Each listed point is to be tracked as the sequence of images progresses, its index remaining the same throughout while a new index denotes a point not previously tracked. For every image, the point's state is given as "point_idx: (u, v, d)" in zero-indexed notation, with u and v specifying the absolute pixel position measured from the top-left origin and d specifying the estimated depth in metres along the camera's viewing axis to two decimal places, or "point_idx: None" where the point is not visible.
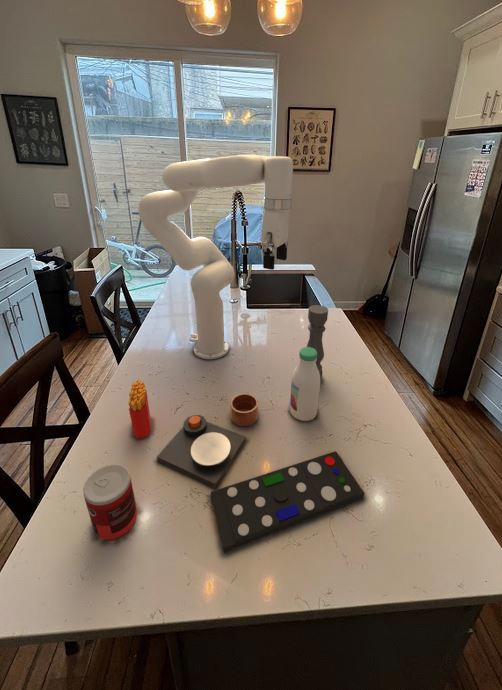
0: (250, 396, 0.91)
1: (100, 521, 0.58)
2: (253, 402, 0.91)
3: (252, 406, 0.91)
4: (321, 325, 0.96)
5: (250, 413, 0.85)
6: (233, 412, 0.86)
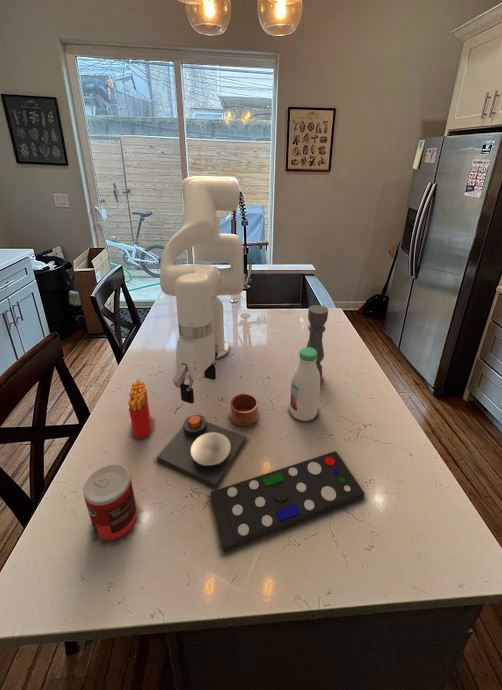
0: (250, 396, 0.91)
1: (100, 521, 0.58)
2: (253, 402, 0.91)
3: (252, 406, 0.91)
4: (321, 325, 0.96)
5: (250, 413, 0.85)
6: (233, 412, 0.86)
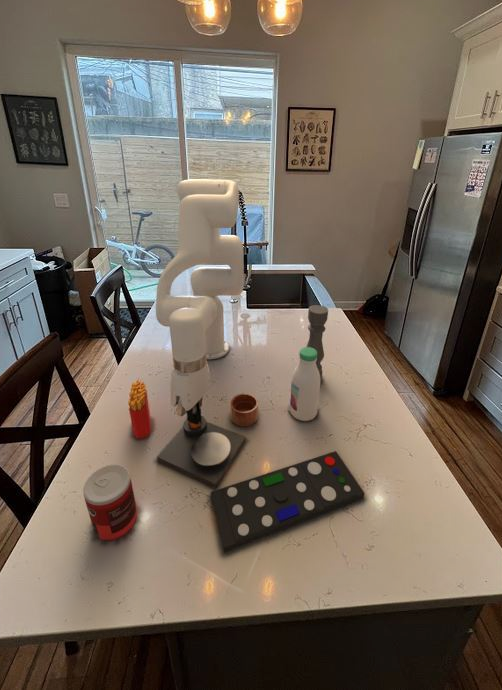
0: (250, 396, 0.91)
1: (100, 521, 0.58)
2: (253, 402, 0.91)
3: (252, 406, 0.91)
4: (321, 325, 0.96)
5: (250, 413, 0.85)
6: (233, 412, 0.86)
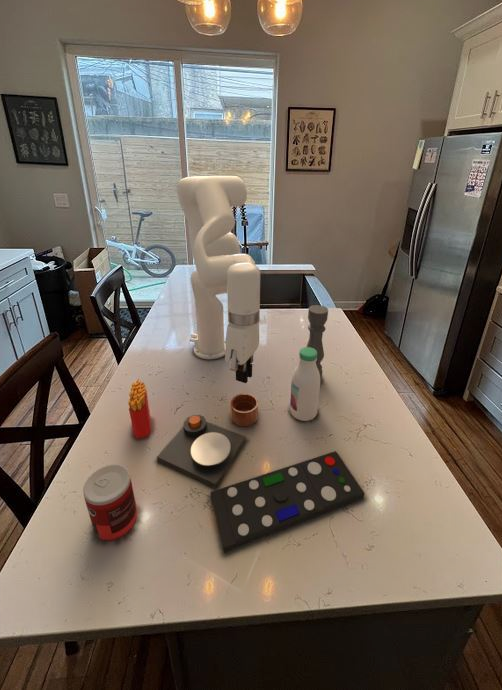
0: (250, 396, 0.91)
1: (100, 521, 0.58)
2: (253, 402, 0.91)
3: (252, 406, 0.91)
4: (321, 325, 0.96)
5: (250, 413, 0.85)
6: (233, 412, 0.86)
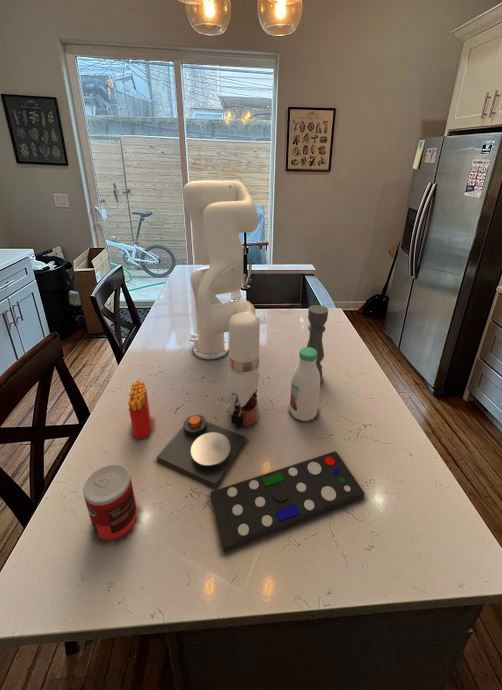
0: None
1: (100, 521, 0.58)
2: (253, 402, 0.91)
3: (252, 406, 0.91)
4: (321, 325, 0.96)
5: (250, 413, 0.85)
6: None
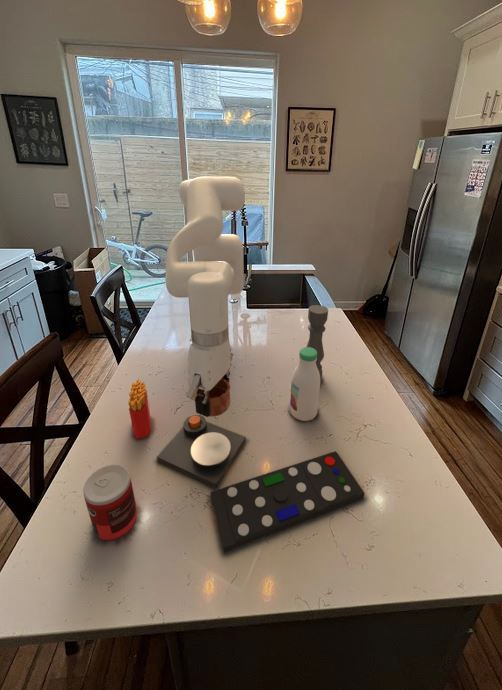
0: (221, 380, 0.74)
1: (100, 521, 0.58)
2: (225, 387, 0.74)
3: (224, 392, 0.75)
4: (321, 325, 0.96)
5: (219, 400, 0.69)
6: None
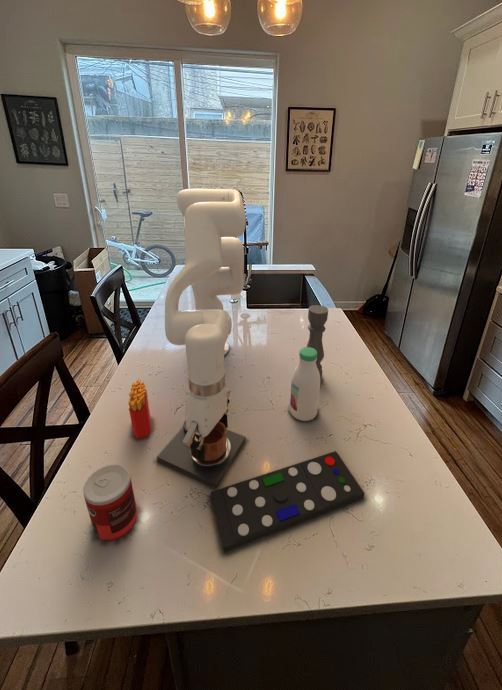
0: (218, 423, 0.77)
1: (100, 521, 0.58)
2: (221, 430, 0.77)
3: (220, 435, 0.77)
4: (321, 325, 0.96)
5: (215, 445, 0.72)
6: None
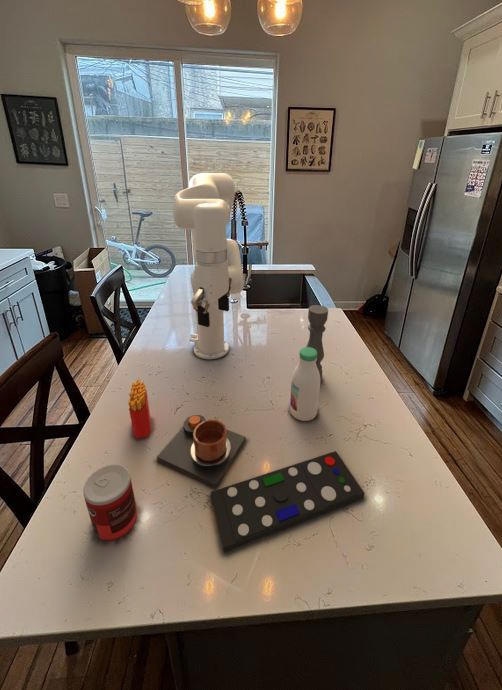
0: (218, 423, 0.77)
1: (100, 521, 0.58)
2: (221, 430, 0.77)
3: (220, 435, 0.77)
4: (321, 325, 0.96)
5: (215, 445, 0.72)
6: (196, 444, 0.73)
